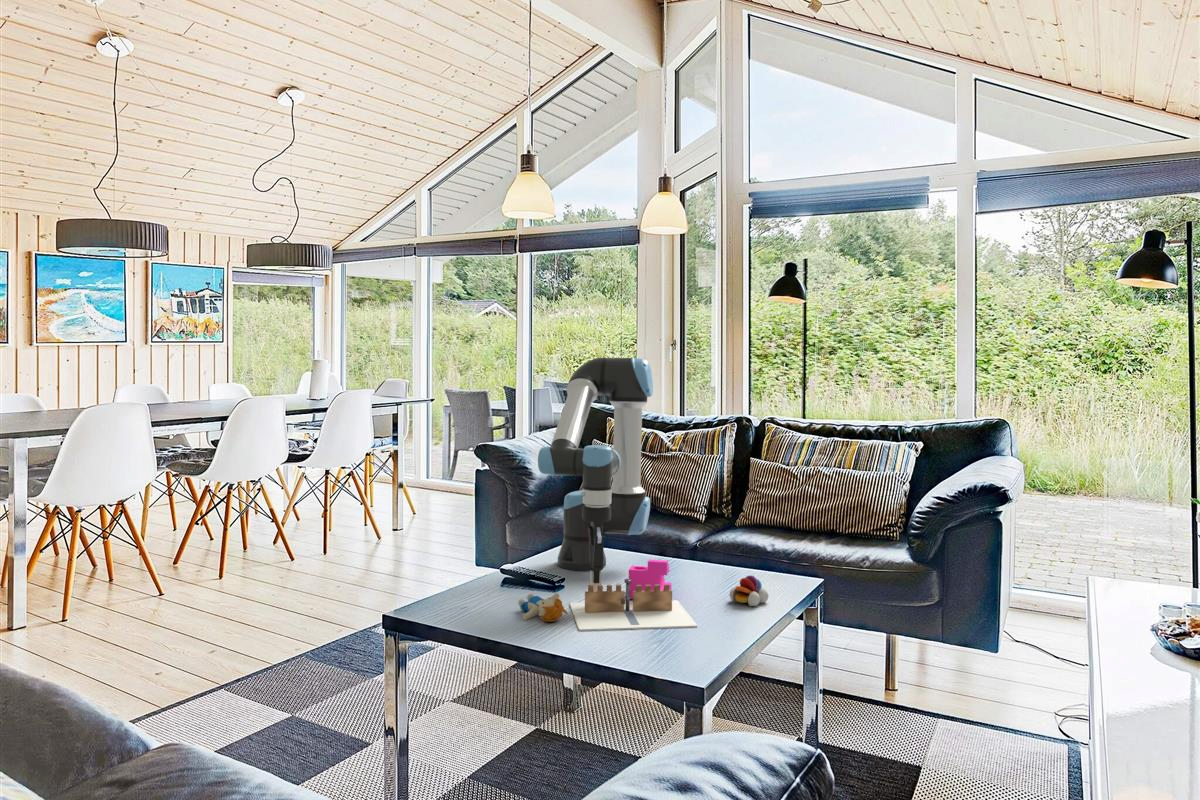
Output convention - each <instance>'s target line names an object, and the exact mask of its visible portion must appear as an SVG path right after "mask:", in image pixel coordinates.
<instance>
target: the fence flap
mask: <svg viewBox="0 0 1200 800" xmlns="http://www.w3.org/2000/svg"><path fill="white" fill-rule="evenodd" d="M603 587H604V585H603V584H601V585H597V591H593V585H590V584H589V585H587V591H584V603H585V612H609V611H624V604H625V602H626V597H625V590H622V584H615V590H613V585H612V584H606V590H604V588H603Z"/></svg>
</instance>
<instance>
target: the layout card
mask: <svg viewBox="0 0 1200 800" xmlns="http://www.w3.org/2000/svg"><path fill="white" fill-rule="evenodd" d="M569 606H570V608H571V611H572V615H573V618H574V621H575V624H576V626H577V628H578V631H579V632H587V631H591V632H592V631H593V632H594V631H618V630H619V631H620V630H648V629H649V630H650V629H651V630H653V629H673V628H674V629H679V628H680V629H681V628H684V629H685V628H697V627H698V624H697V623H696V622H695V620H693V618H692V617H691V615H690V614H689V612H687V610H686V609H685V608H684V606H683V605H682V604H681V602H680V601H679V600H678V599H676V600H675V599H674V600H673V599H672V610H658V611H633V600H632V601H630V610H629V611H626V601H625V604H624V611H609V612H585V602H571V603H569Z"/></svg>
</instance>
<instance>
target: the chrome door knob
mask: <svg viewBox="0 0 1200 800" xmlns="http://www.w3.org/2000/svg"><path fill="white" fill-rule="evenodd" d="M631 582H632V580H631V579H629V578H625V579H624V583H625V602H626V611H629V610H630V602H631V601H630V600H631V598H630V583H631Z"/></svg>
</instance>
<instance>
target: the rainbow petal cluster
mask: <svg viewBox="0 0 1200 800" xmlns="http://www.w3.org/2000/svg"><path fill="white" fill-rule="evenodd" d="M762 585H763V584H762V582H761V581H760V579H758V578H756V577H755V576H754V575H746V576H745V577H742V578H741V579H740V581H739V585H736V586H735V587H733V588H732V589H731V590H730V592H729V598H730V600H731V601H732V602H734V603H741V604H743V603H747V604H748V606H749V607H751V606H754V607H756V606H758V605H759V604H765V603H767V601H768V599H769V592H768V591H767V589H765V588H763V587H762Z"/></svg>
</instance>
